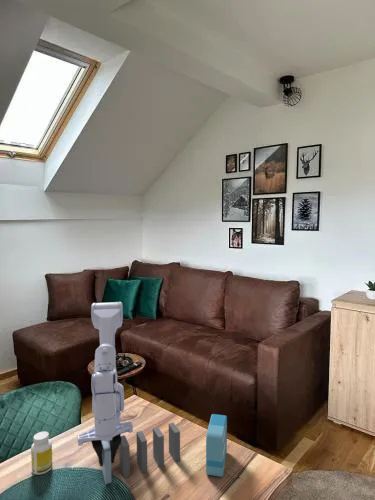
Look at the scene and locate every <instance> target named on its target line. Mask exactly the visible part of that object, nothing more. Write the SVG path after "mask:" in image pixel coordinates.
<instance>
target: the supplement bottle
mask: <svg viewBox="0 0 375 500" xmlns="http://www.w3.org/2000/svg"><path fill="white" fill-rule="evenodd" d="M30 454H31V456H30V457H31V458H30V459H31V471H32V473H33V474H34V475H44V474H46V473H48V472H49V471H50V470H51V469H52V467H53V444H52V440H51V439H50V433H49V432H48V431H43V430H42V431H39V432H37V433H35V434H34V435H33V443H32V444H31V447H30Z"/></svg>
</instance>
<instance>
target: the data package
mask: <svg viewBox="0 0 375 500" xmlns="http://www.w3.org/2000/svg"><path fill="white" fill-rule="evenodd" d="M208 423H209V424H208V427H207V431H206V436H205V437H206V439H205V452H206V453H205V466H206V467H205V472H206V475H207V476H213V477H220V478H223V476H224V471H225V465H226V457H227V449H228V448H227V447H228V440H227V439H228V435H227V434H228V425H227V424H228V416H227V415H224V414H223V415H222V414H216V413H215V414H214V413H212V414H211V416H210V420H209V422H208Z"/></svg>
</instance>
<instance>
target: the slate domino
mask: <svg viewBox="0 0 375 500" xmlns="http://www.w3.org/2000/svg"><path fill="white" fill-rule="evenodd" d="M102 446H103V450H102V458H103V466H101V470H102V471H101V472H102V476H103V480H104V483H105V485H107V484H111V483H112V481H113V480H112V463H111V449H110V446H109V443H108V441H102Z"/></svg>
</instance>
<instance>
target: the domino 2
mask: <svg viewBox="0 0 375 500" xmlns="http://www.w3.org/2000/svg"><path fill="white" fill-rule="evenodd" d="M136 463H137V466H138V467H139V469H140V472H141V474H142V473H146V472H148V440H147V438H146V435H145V434H144V432H143V430H139V431H136Z"/></svg>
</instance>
